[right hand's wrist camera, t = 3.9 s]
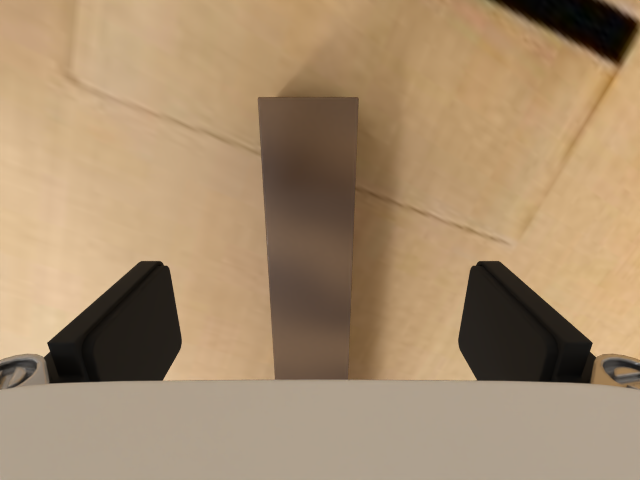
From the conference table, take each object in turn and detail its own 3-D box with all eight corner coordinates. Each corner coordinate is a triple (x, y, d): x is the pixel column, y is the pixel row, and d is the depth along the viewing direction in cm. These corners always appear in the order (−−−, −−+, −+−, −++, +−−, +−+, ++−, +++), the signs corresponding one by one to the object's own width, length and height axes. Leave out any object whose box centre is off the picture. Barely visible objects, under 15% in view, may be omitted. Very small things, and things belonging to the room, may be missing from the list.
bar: (274, 97, 22) (257, 97, 15) (345, 97, 22) (358, 97, 15) (297, 608, 45) (294, 698, 38) (332, 607, 45) (335, 697, 38)
